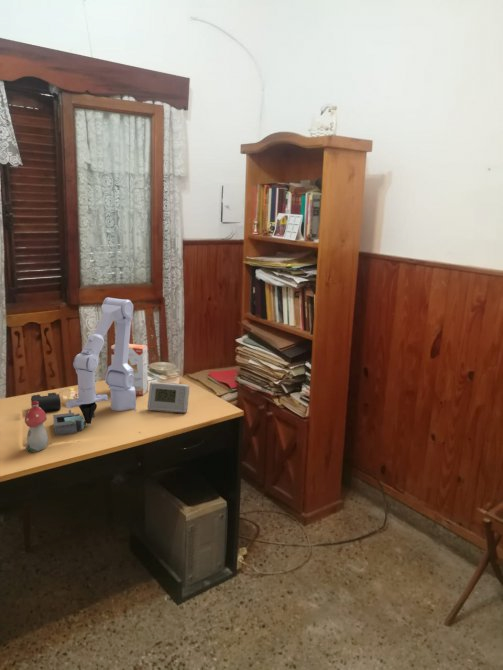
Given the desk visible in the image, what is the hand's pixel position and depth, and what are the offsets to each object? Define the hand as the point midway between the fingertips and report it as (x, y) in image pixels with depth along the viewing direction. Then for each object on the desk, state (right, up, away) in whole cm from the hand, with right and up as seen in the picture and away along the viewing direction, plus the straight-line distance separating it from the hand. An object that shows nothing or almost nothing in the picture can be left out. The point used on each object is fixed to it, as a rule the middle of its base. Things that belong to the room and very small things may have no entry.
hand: (88, 422), depth 186 cm
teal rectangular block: (-4, -2, -2) cm, 5 cm away
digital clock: (+26, +2, +20) cm, 32 cm away
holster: (-5, 0, +9) cm, 10 cm away
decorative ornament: (-12, -6, -15) cm, 20 cm away
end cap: (-20, +2, +13) cm, 24 cm away
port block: (-7, -2, -3) cm, 8 cm away
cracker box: (+6, +7, +37) cm, 38 cm away
